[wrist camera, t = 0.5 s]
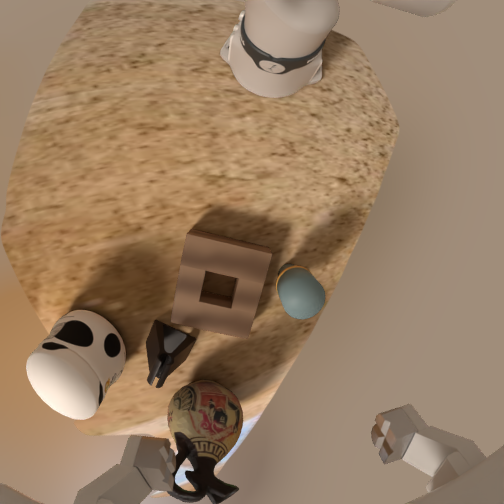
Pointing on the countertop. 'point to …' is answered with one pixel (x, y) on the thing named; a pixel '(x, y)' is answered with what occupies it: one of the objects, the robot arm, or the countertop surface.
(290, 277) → the leg
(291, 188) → the countertop surface
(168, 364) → the phone stand
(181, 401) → the ceramic jug
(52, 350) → the milk container
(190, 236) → the board
